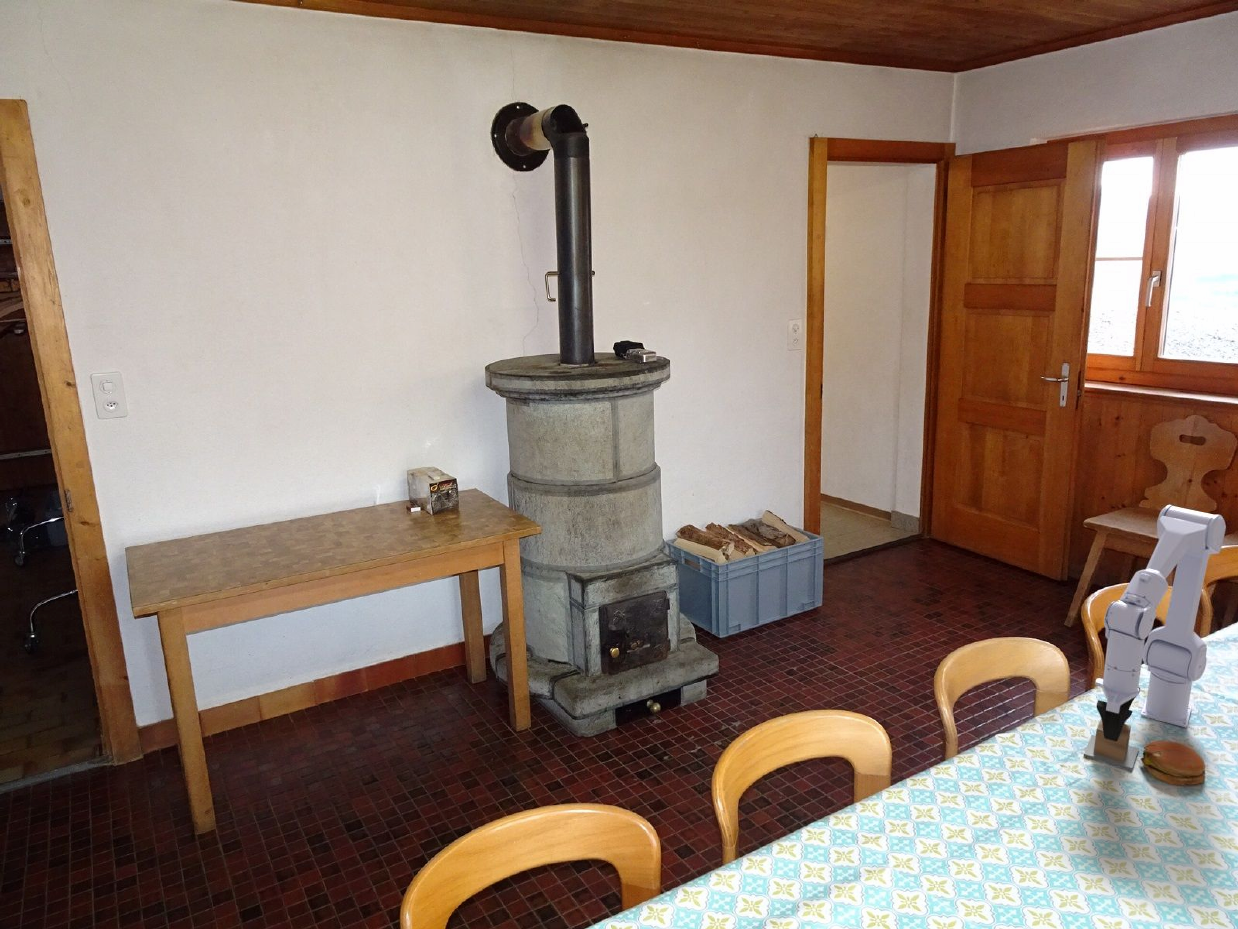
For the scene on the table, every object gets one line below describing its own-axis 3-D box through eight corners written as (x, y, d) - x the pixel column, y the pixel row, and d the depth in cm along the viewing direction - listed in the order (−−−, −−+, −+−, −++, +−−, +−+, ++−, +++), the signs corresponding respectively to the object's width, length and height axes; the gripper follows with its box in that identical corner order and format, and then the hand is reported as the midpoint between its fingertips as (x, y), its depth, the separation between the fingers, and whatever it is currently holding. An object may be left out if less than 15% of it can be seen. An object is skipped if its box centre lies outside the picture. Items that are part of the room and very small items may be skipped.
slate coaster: (1091, 737, 170) (1091, 734, 170) (1138, 750, 165) (1138, 748, 165) (1083, 756, 164) (1083, 753, 164) (1131, 771, 159) (1132, 768, 159)
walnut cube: (1098, 740, 168) (1101, 717, 167) (1127, 749, 165) (1131, 725, 164) (1093, 752, 164) (1096, 729, 163) (1123, 761, 161) (1126, 737, 160)
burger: (1214, 778, 157) (1218, 755, 156) (1184, 794, 153) (1188, 771, 152) (1159, 751, 165) (1162, 729, 164) (1129, 766, 161) (1132, 744, 160)
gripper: (1105, 644, 168) (1097, 706, 171) (1091, 674, 157) (1083, 740, 160) (1147, 653, 164) (1138, 717, 167) (1135, 685, 153) (1126, 753, 156)
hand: (1114, 729), depth 163 cm, fingers open, 7 cm apart
